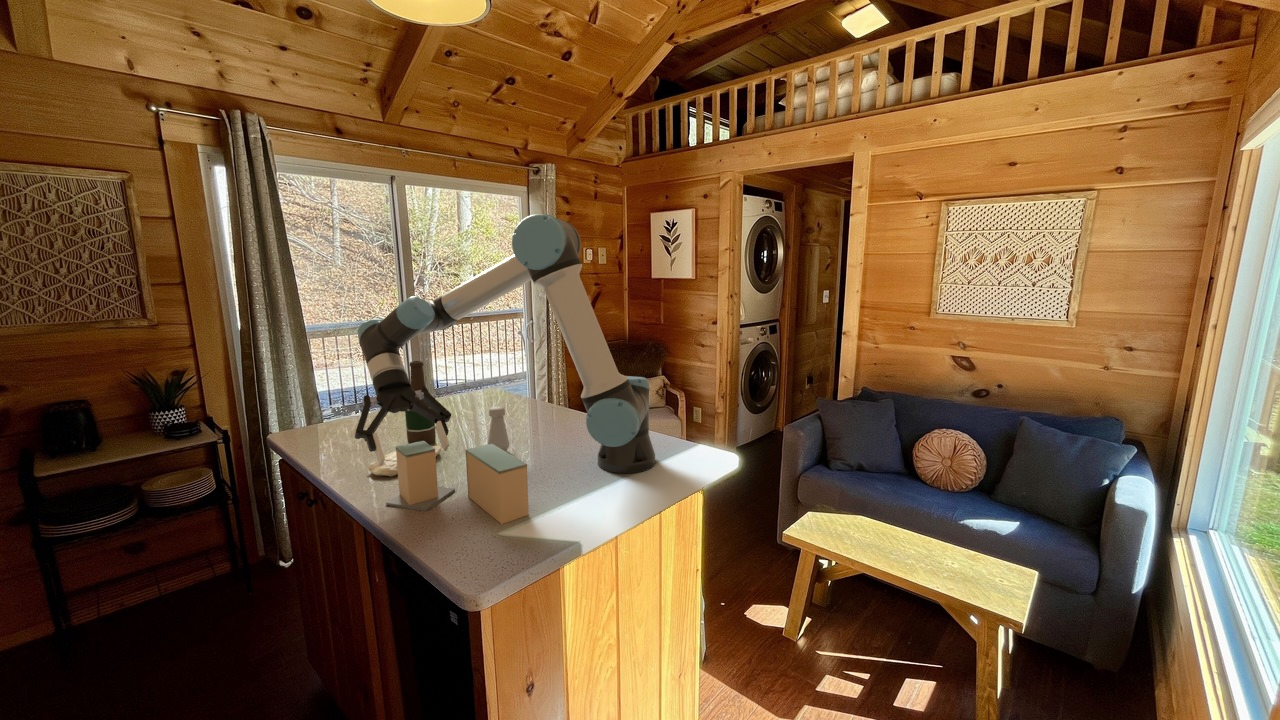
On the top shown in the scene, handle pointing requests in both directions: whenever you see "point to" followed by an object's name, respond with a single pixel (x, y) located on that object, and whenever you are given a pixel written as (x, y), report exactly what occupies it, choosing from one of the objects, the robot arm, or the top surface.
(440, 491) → the coaster
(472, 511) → the top surface
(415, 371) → the beer bottle
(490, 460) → the tan wooden box
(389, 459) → the cream lumpy flat piece
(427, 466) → the stub
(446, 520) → the top surface
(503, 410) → the salt shaker
